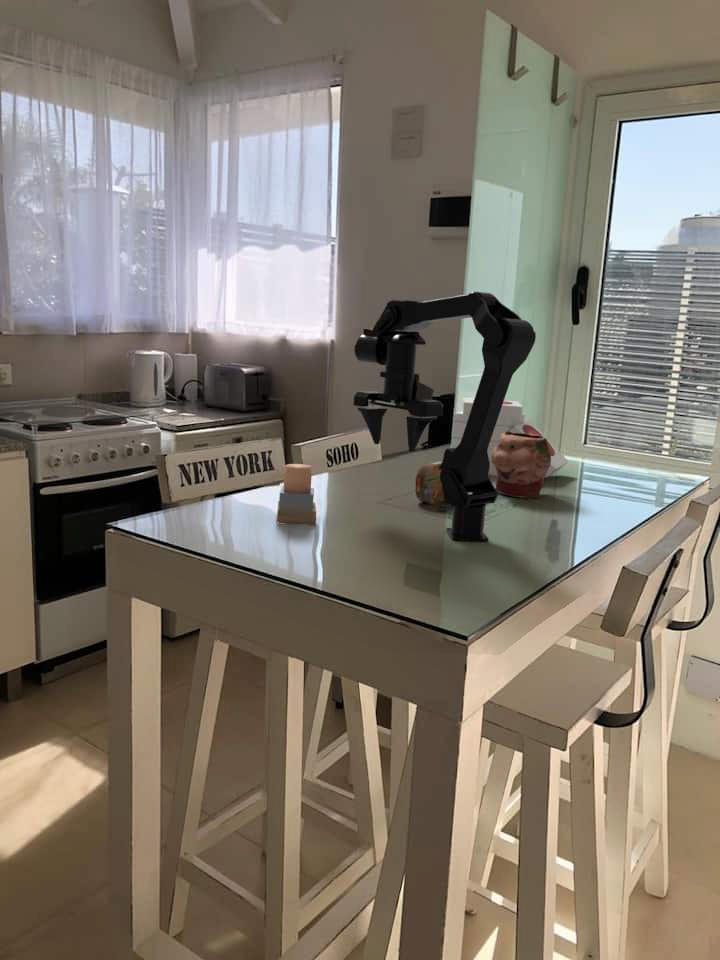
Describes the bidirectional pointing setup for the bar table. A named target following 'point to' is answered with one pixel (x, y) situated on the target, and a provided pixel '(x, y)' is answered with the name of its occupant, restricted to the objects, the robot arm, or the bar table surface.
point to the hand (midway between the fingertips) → (393, 447)
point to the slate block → (296, 500)
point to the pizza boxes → (506, 421)
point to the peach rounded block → (297, 478)
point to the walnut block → (297, 516)
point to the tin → (429, 483)
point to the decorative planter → (521, 464)
